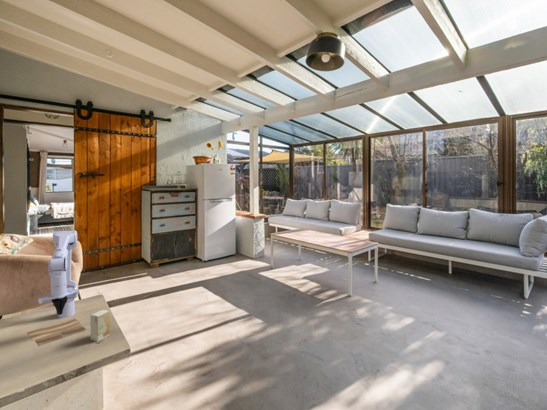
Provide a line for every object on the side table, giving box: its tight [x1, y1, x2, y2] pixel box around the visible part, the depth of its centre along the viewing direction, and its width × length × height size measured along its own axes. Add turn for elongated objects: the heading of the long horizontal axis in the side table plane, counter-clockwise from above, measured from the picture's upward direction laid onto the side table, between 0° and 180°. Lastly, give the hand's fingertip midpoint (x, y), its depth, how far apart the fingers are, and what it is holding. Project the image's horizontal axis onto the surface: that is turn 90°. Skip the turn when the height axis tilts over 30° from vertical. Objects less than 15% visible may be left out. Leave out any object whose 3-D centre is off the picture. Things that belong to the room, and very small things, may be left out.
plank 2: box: [59, 325, 87, 338], centre depth 130 cm, size 7×8×1 cm
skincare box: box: [90, 309, 111, 344], centre depth 125 cm, size 6×4×12 cm
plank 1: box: [34, 332, 65, 347], centre depth 123 cm, size 7×8×1 cm
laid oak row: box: [26, 317, 83, 341], centre depth 132 cm, size 10×18×1 cm, turn 141°
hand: (59, 313), depth 129 cm, fingers closed
